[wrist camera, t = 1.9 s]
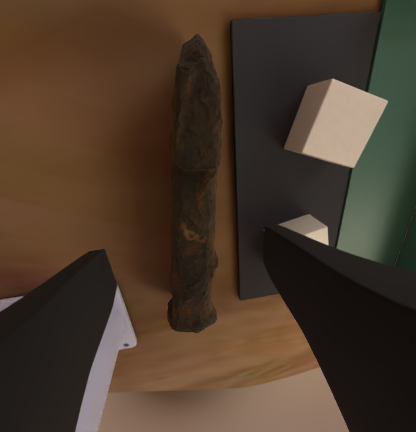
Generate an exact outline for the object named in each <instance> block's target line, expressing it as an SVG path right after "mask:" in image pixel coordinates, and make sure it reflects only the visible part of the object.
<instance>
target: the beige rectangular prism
mask: <svg viewBox="0 0 416 432" xmlns="http://www.w3.org/2000/svg"><path fill="white" fill-rule="evenodd" d="M387 103H388V101H387V100H385V99H382V98H380V97H377V96H375V95H372V94H370V93H367V92H365V91H362V90H360V89H357V88H355V87H352V86H350V85H347V84H345V83H342V82H340V81H337V80H335V79H329V80H326V81H322V82H319V83H315V84H312V85H308V86H307V89H306V91H305V94H304V96H303V99H302V102H301V104H300V107H299V110H298V112H297V115H296V117H295V120H294V123H293V125H292V128H291V130H290V133H289V136H288V138H287V141H286V144H285V146H284V149H286V150H289V151H293V152H296V153H300V154H303V155H307V156H310V157H313V158H317V159H320V160H324V161H327V162H331V163H335V164H339V165H342V166H346V167H350V168H354V167H355V165H356V163H357V161H358V159H359V157H360V155H361V153H362V151H363V149H364V147H365V145H366V144H367V142H368V140H369V138H370V136H371V134H372V132H373V130H374V128H375V126H376V124H377V122H378V120H379V119H380V117H381V115H382V113H383V111H384V109H385V107H386V105H387Z"/></svg>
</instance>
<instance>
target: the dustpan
mask: <svg viewBox="0 0 416 432" xmlns="http://www.w3.org/2000/svg"><path fill="white" fill-rule="evenodd" d="M365 92H367V93H370V94H372V95H375V96H377V97H380V98H382V99H385V100H387V101H388V103H387V105H386V107H385V109H384V111H383V113H382V115H381V117H380V119H379V120H378V122H377V124H376V126H375V128H374V130H373V132H372V134H371V136H370V138H369V140H368V142H367V144H366V145H365V147H364V149H363V151H362V153H361V155H360V157H359V159H358V161H357V163H356V165H355V167H354V168H350V170H349V175H348V180H347V185H346V191H345V196H344V201H343V206H342V211H341V216H340V221H339V226H338V231H337V236H336V241H335V247H334V248H337V249H339V250H342V251H345V252H347V253H350V254H353V255H356V256H360V257H363V258H366V259H369V260H373V261H376V262H379V263H383V264H387V265H390V266H395V267H398V268H402V269H407V270H411V271H415V272H416V208H415V207H416V0H383V2H382V7H381V12H380V18H379V23H378V28H377V33H376V38H375V43H374V48H373V53H372V58H371V63H370V68H369V74H368V79H367V84H366V89H365ZM414 209H415V211H414ZM413 212H414V214H413ZM412 215H413V217H412ZM411 218H412V220H411ZM410 221H411V223H410ZM409 224H410V225H409ZM408 226H409V228H408ZM407 229H408V231H407ZM406 232H407V234H406ZM405 235H406V237H405ZM404 238H405V239H404ZM403 240H404V242H403ZM402 243H403V245H402ZM401 246H402V248H401ZM400 249H401V251H400ZM399 252H400V253H399ZM398 255H399V256H398ZM397 257H398V259H397ZM396 260H397V262H396ZM395 263H396V265H395Z"/></svg>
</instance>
